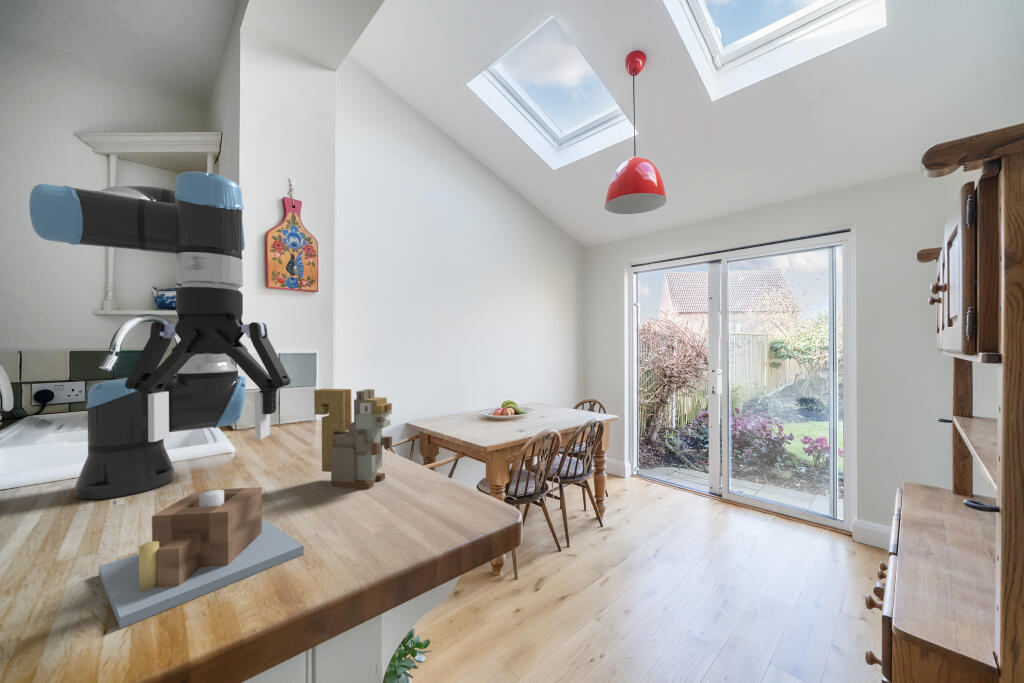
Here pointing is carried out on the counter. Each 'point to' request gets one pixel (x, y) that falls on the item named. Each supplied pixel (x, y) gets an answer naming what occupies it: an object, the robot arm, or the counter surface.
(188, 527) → the tabbed square frame
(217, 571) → the post board
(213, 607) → the counter surface
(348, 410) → the toy
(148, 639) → the counter surface
